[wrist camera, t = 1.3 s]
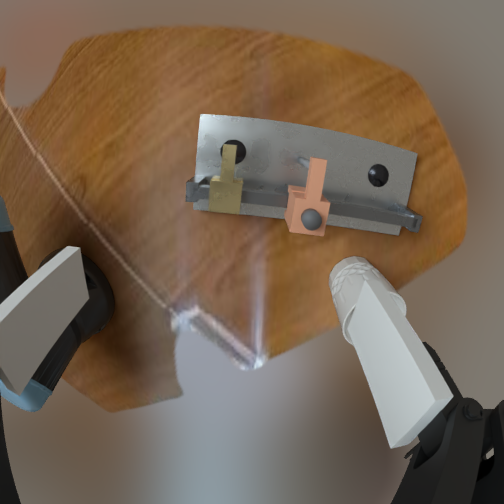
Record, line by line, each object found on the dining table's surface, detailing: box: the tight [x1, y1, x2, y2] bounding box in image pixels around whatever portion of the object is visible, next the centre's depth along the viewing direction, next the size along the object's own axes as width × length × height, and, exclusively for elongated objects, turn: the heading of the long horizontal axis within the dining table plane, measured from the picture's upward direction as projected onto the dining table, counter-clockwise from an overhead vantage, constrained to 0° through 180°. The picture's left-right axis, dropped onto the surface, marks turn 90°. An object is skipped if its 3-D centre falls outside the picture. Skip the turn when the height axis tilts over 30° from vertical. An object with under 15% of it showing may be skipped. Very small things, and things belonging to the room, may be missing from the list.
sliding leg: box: [284, 157, 330, 236], centre depth 25 cm, size 3×7×9 cm, turn 174°
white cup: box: [329, 256, 407, 346], centre depth 32 cm, size 8×8×10 cm
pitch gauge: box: [186, 114, 423, 236], centre depth 28 cm, size 26×11×7 cm, turn 84°
